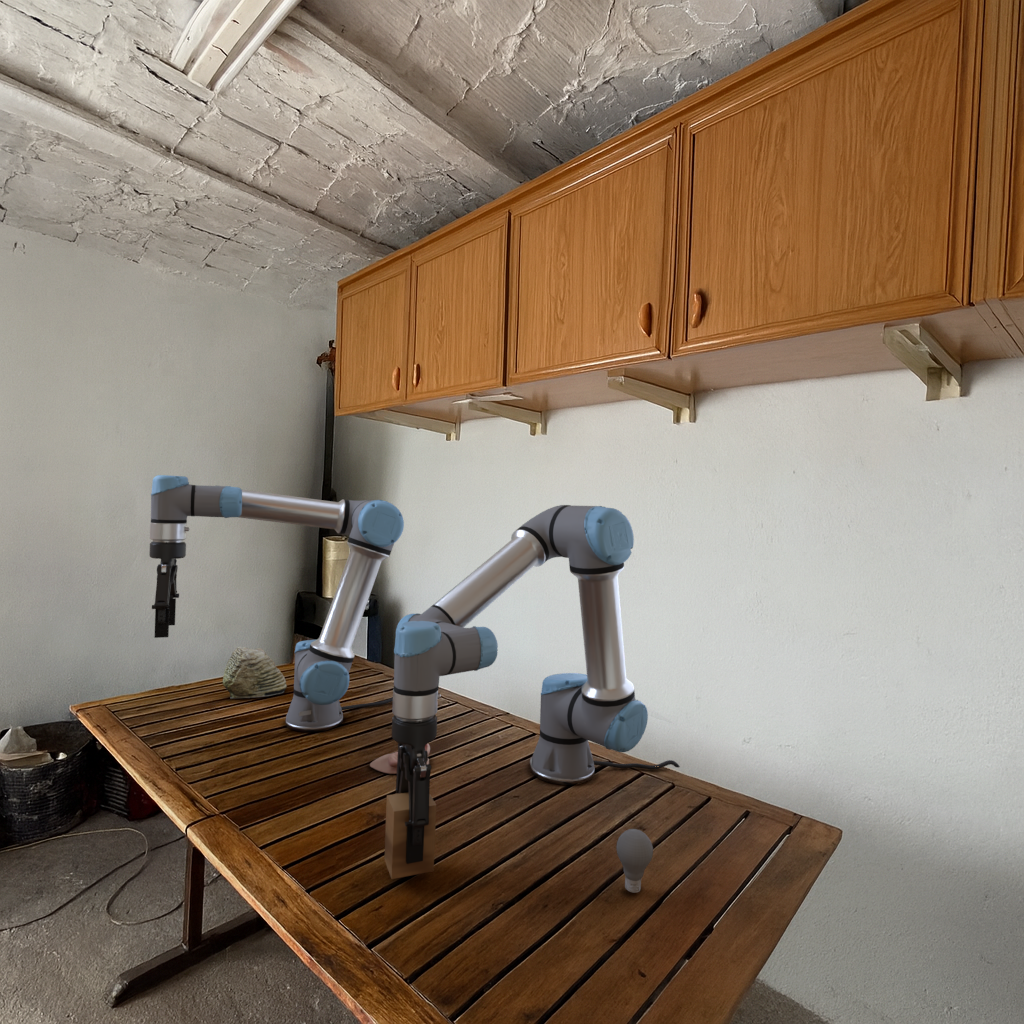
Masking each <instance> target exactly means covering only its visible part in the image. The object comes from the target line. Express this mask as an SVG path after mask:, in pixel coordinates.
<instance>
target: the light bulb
mask: <svg viewBox="0 0 1024 1024" xmlns="http://www.w3.org/2000/svg"><path fill="white" fill-rule="evenodd" d="M615 849H616V854H617V857H618V859H619V861H620V863H621V865H622V867H623V873H624V874H623V875H624V876H625V878H624V888H625V890H627V891H628V892H630V893H634V894H635V893H639V892H640V891H641V889H642V887H641V886H642V879H643V877H644V875H645V871H646V868H647V867H648V866H649V864H650V863H651V861H652V859H653V855H654V847H653V843H652V841H651V838H649V836H648V835H647V834H646V833H645V832H643V831H642V830H641V829H636V828H629V829H627V830H625V831H623V832H622V833H621V834H620V835H619V837H618V839H617V841H616V847H615Z"/></svg>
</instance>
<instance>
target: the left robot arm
mask: <svg viewBox="0 0 1024 1024" xmlns="http://www.w3.org/2000/svg"><path fill="white" fill-rule="evenodd" d="M188 517H202V518H203V517H206V518H225V519H229V518H239V519H248V520H255V521H256V520H257V521H264V522H271V523H281V524H289V525H298V526H303V527H313V528H321V529H329V530H334V531H335V532H336V533H337V534H339V535H340V534H341V535H348V539H347V542H346V544H347V546H348V548H349V553H348V556H347V559H346V562H345V565H344V567H343V570H342V573H341V576H340V579H339V582H338V584H337V588H336V590H335V592H334V596H333V598H332V601H331V603H330V607H329V610H328V612H327V614H326V617H325V620H324V623H323V626H322V629H321V632H320V635H319V637H318V638H317V639H307V640H301V641H298V642H297V643H295V648H294V649H295V650H294V672H293V673H294V674H293V675H294V679H293V695H292V696H293V697H292V699H291V702H290V704H289V708H288V711H287V713H286V715H285V726H286V728H287V729H289V730H291V731H294V732H295V731H296V732H301V733H316V732H325V731H329V730H332V729H335V728H337V727H339V726H340V725H342V723H343V722H344V714H343V711H345V710H346V711H347V710H351V709H360V708H367V707H368V708H369V707H377V706H378V707H379V706H382V705H386V704H390V703H391V702H393V696H392V697H390V698H387V699H385V700H380V701H376V702H375V701H374V702H366V703H358V704H350V705H343V706H341V702H340V700H341V699H342V698H343V697H344V696H345V695H346V693H347V691H348V689H349V685H350V674H349V673H350V671H351V669H352V664H353V662H354V659H355V653H354V651H353V649H352V648H353V644H354V642H355V640H356V639H355V638H356V635H357V633H358V630H359V627H360V624H361V621H362V618H363V616H364V612H365V609H366V607H367V604H368V601H369V599H370V596H371V594H372V593H371V592H372V590H373V587H374V585H375V581H376V578H377V575H378V573H379V570H380V568H381V564H382V562H383V561H384V560H385V559H388V558H390V556H391V553H392V551H393V548H394V545H395V543H396V542H397V541H398V540H400V538H401V536H402V534H403V532H404V528H405V524H404V523H405V521H404V520H405V519H404V517H403V514H402V512H401V510H399V508H398V507H397V506H395V505H394V504H393V503H391V502H389V501H387V500H383V499H364V500H351V499H341V500H340V501H332V500H331V501H330V500H325V499H324V500H322V499H316V498H310V497H309V498H308V497H301V496H294V495H287V494H279V493H272V492H266V491H257V490H251V489H250V490H249V489H242V488H240V487H238V486H231V485H199V484H198V485H197V484H191V483H190V482H189V478H188V477H187V476H183V475H168V474H167V475H165V474H158V475H155V476H154V477H153V478H152V483H151V493H150V523H149V539H150V540H151V542H150V543H149V555H148V556H149V557H150V558H151V559H155V560H156V559H159V560H160V563H159V564H157V566H156V574H157V575H156V586H155V595H154V603H153V604H152V605H151V610H155V611H154V637H153V638H154V639H157V638H158V639H159V638H160V639H161V638H169V635H170V632H169V630H170V626H175V625H176V611H177V609H176V608H177V599H179V598H180V593H178V590H177V589H178V588H177V587H178V586H177V577H178V569H179V568H178V565H177V562H178V561H177V560H179V559H184V558H185V557H186V556H187V543H186V542H185V540H186V539H187V532H189V531H190V527H188V526H187V523H188Z"/></svg>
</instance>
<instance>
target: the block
mask: <svg viewBox="0 0 1024 1024" xmlns="http://www.w3.org/2000/svg"><path fill="white" fill-rule="evenodd" d="M385 805H386V807H385V832H384V833H385V834H384V859H383V860H384V862H385V863H384V864H385V866H386V868H387V871H388V872H389V876H390V879H391V880H395V879H401V878H405V877H410V876H415V875H421V874H427V873H432V872H434V871H435V850H436V849H435V848H436V847H435V846H436V822H437V821H436V820H437V804H436V802H435V801H434V799H433V798H432V795H431V794H430V793H429V824H428V825H426V826H424V847H423V861H420V862H415V863H409V864H407V863H406V843H407V827H406V826H405V822H408V821H409V792H407V793H400V794H397V793H393V794H387V795H386V804H385Z"/></svg>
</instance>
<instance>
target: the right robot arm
mask: <svg viewBox="0 0 1024 1024" xmlns="http://www.w3.org/2000/svg"><path fill="white" fill-rule="evenodd" d="M634 543H635V538H634V530H633V527H632V524H631V523H630V520H629V519H628V518H627V516H626V515H625V514H623V512H622V511H620V510H619V509H616V508H613V507H606V506H602V505H571V504H559V505H555V506H552V507H550V508H547V509H545V510H543V511H541V512H540V513H538V514H536V515H535V516H533V517H531V518H530V519H528V520H527V521H526V522H524V523H523V524H522V525H520V526H519V527H518V528H517V529H515V530H514V531H513V532H512V534H511V539H510V540H509V541H508V542H507V543H506V544H504V545H503V546H502V547H500V549H499V550H498V551H496V552H494V554H492V555H491V556H490V557H489V558H488V559H486V560H485V561H484V562H482V564H480V566H478V567H477V568H476V569H474V570H473V571H472V572H470V574H469V575H467V576H466V577H464V579H462V580H461V581H460V582H459V583H457V585H455V586H454V587H453V588H452V589H450V590H449V591H447V592H446V593H445V594H444V595H443V596H442V597H440V599H438V600H437V601H436V602H435V603H433V604H432V605H431V606H430V607H428V608H427V609H426V610H424V611H423V612H422V613H409V614H406V615H405V616H403V617H402V618H401V619H400V620H399V622H398V623H397V625H396V628H395V641H394V647H393V648H394V649H393V653H394V663H393V664H394V667H393V688H392V697H393V701H392V707H391V708H392V709H391V710H392V714H393V716H392V718H391V720H392V721H391V738H392V740H393V741H394V742H396V743H397V752H398V760H397V774H396V779H395V780H396V781H395V794H400V793H407V792H409V821H408V822H405V826H406V827H407V843H406V863H407V864H409V863H415V862H420V861H423V847H424V826H426V825H428V824H429V794H430V790H431V789H430V787H431V786H430V784H431V783H430V782H431V773H432V766H431V764H430V763H429V764H427V761H428V759H429V755H428V753H427V750H426V751H425V745H426V744H427V743H428V744H429V743H431V742H433V741H434V740H435V739H436V738H437V736H438V735H437V733H438V716H437V715H436V714H437V713H438V700H440V699H441V697H442V694H441V693H440V692H439V690H440V689H439V687H440V677H445V676H449V675H455V674H461V673H467V672H472V671H474V672H477V671H478V670H482V669H485V668H489V667H491V666H492V665H493V664H494V663H495V662H496V659H497V658H498V653H499V652H498V650H499V649H498V647H499V644H498V640H497V637H496V635H495V633H494V632H493V631H492V630H491V629H490V628H489V627H486V626H476V625H474V626H472V627H467V625H469V624H470V623H471V622H472V621H473V620H474V619H475V618H476V617H478V616H479V615H480V614H481V613H482V612H484V610H486V609H487V608H488V607H489V606H491V604H493V603H494V602H495V601H496V600H498V598H499V597H500V596H502V595H503V594H504V593H505V592H507V590H509V589H510V588H511V587H512V586H513V585H514V584H515V583H516V582H517V581H519V580H520V579H521V578H522V577H523V576H524V575H526V574H527V573H528V572H529V571H530V570H531V569H532V568H534V567H541V566H543V565H544V564H545V563H546V562H548V561H549V560H551V559H553V558H554V559H555V558H564V559H565V558H567V559H568V566H569V572H570V574H572V575H573V576H575V578H576V579H577V584H578V595H579V603H580V605H579V606H580V615H581V616H580V617H581V627H582V636H583V638H582V639H583V648H584V659H585V669H586V674H585V673H577V672H566V673H565V672H564V673H555V674H551V675H547V676H546V677H544V679H543V680H542V682H541V683H542V684H541V691H540V713H539V714H540V716H539V737H538V741H537V743H536V746H535V748H534V751H533V754H532V756H531V757H530V760H529V764H530V772H531V774H533V776H534V777H536V778H537V779H539V780H542V781H543V782H546V783H549V784H554V785H561V786H562V785H564V786H573V785H574V786H575V785H581V784H584V783H588V782H589V781H591V780H592V779H594V776H595V770H596V769H595V767H596V766H601V767H609V768H615V769H635V768H636V769H643V770H650V771H653V770H655V771H656V770H659V769H662V768H665V767H666V766H670V765H671V766H674V767H675V768H681V766H680V765H679V763H678V762H676V761H675V760H671V759H670V760H669V759H667V760H665V761H662V762H661V763H657V764H654V765H651V764H644V763H636V762H633V763H631V762H630V763H616V762H609V761H602V760H601V761H600V760H594V757H593V754H592V751H591V747H590V743H589V741H590V742H592V743H594V744H596V745H600V746H602V747H604V748H605V749H606V750H609V751H610V750H611V751H615V752H618V753H627V752H629V751H631V750H632V749H634V748H635V747H636V746H637V745H638V743H640V741H641V740H642V738H643V735H644V734H645V731H646V729H647V725H648V720H649V713H648V707H647V706H646V705H645V704H644V703H643V702H642V701H641V700H639V699H636V693H635V685H634V684H633V682H632V681H631V680H629V679H628V678H627V668H626V657H625V644H624V632H623V620H622V610H621V597H620V587H619V575H620V573H621V572H622V571H623V570H624V569H625V562H627V561H628V559H629V558H630V557H631V555H632V552H633V551H632V550H633V548H634ZM655 766H656V767H655ZM657 766H659V767H657Z"/></svg>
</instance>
